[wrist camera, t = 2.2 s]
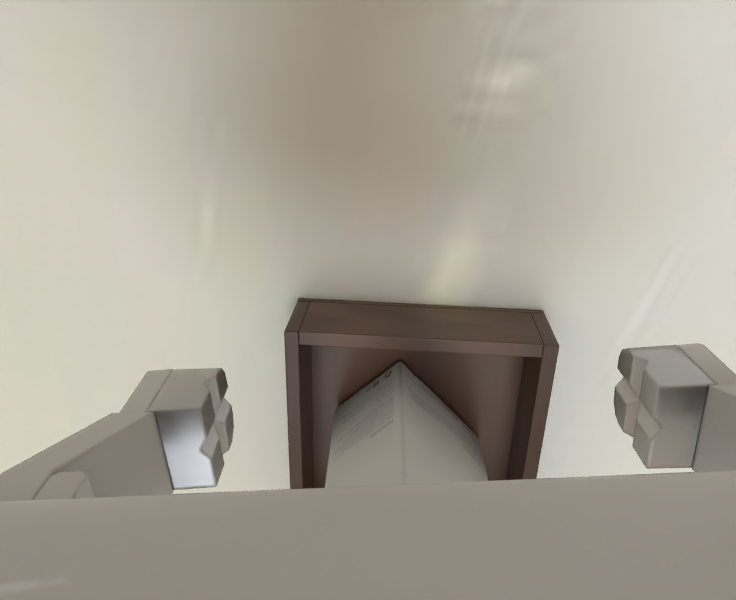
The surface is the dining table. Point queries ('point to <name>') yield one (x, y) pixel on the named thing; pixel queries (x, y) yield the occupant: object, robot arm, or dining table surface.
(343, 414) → the cosmetic box
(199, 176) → the dining table surface
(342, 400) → the crate
